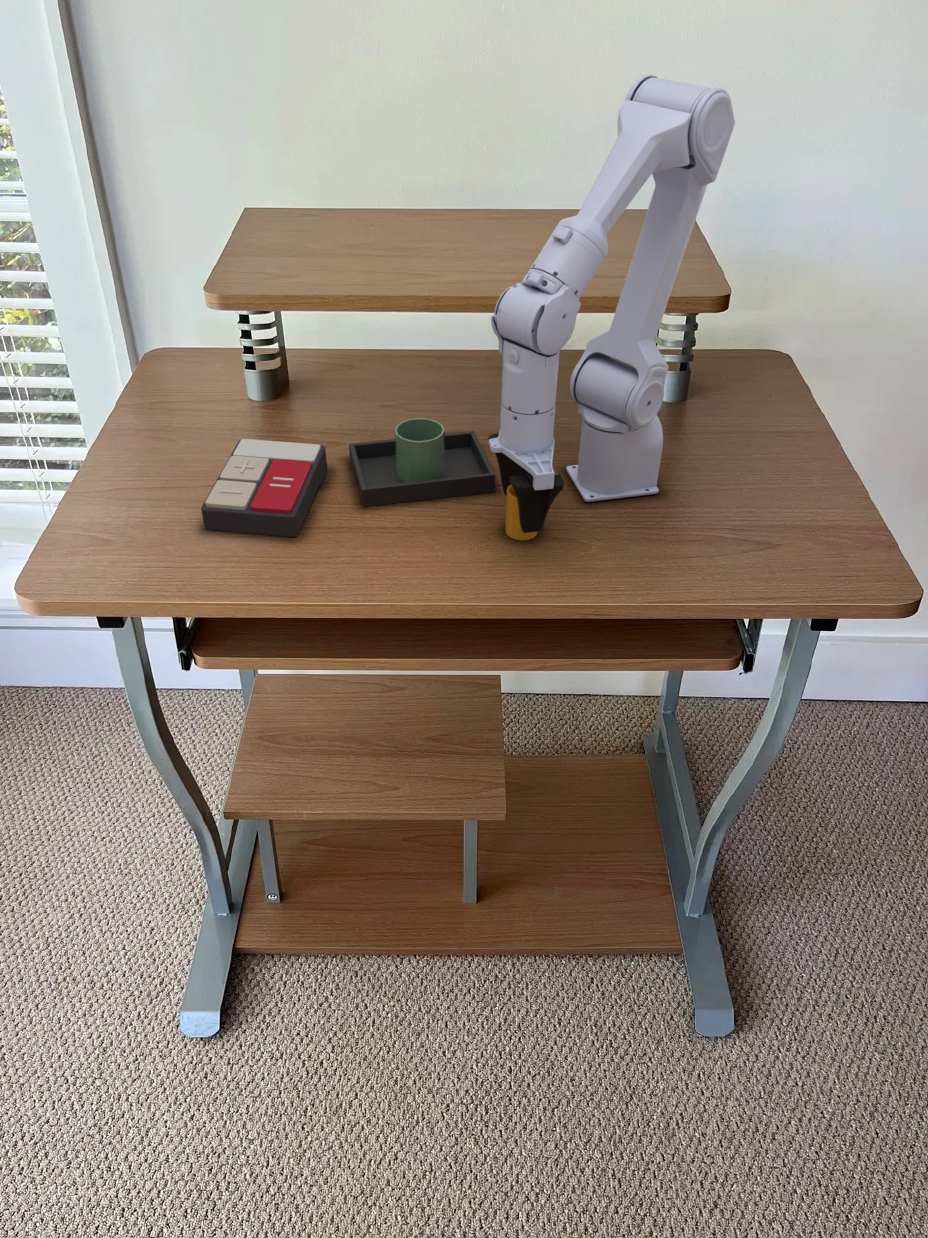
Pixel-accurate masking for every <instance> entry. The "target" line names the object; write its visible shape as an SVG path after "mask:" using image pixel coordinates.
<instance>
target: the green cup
mask: <svg viewBox="0 0 928 1238" xmlns="http://www.w3.org/2000/svg"><path fill="white" fill-rule="evenodd" d="M445 431H446V430H445V427H444V425H443V424H442V423H440V422H439V421H437V420H434V419H431V418H425V417H417V418H416V417H415V418H409V419H405V420H403V421H401V422H399V423H398V424H396V426H395V429H394V439H395V450H396V471H397V476H398V478H399V479H400V480H402V481H403V482H414V481H423V480H432V479H441V478H442V477H443V476H444V471H445V434H446V432H445Z"/></svg>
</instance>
